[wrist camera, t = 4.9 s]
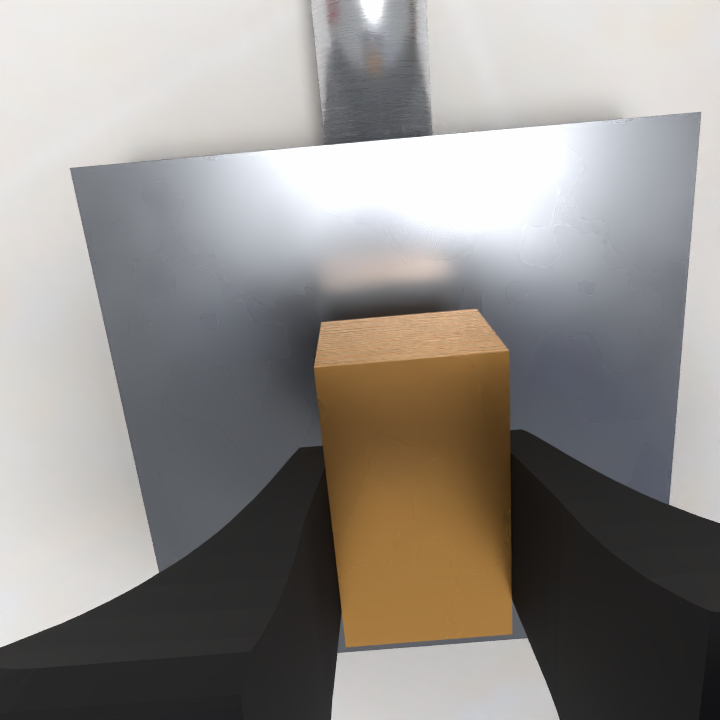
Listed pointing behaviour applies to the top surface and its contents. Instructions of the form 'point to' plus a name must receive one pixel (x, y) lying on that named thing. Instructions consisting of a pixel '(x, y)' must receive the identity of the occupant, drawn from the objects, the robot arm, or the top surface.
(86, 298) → the top surface
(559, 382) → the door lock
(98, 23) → the top surface
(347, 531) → the orange wooden block
